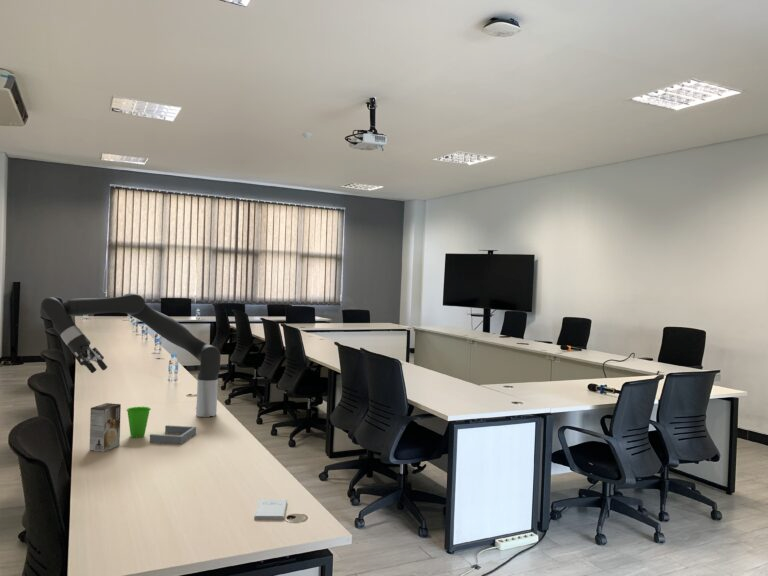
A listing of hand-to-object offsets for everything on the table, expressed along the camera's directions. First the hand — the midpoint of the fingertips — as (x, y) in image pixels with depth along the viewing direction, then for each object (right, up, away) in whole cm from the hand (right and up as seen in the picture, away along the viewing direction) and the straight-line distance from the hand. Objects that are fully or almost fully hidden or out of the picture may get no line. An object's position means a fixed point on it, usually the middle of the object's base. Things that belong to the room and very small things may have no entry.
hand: (100, 370), depth 236 cm
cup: (+15, -27, 0) cm, 31 cm away
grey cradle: (+29, -27, 0) cm, 40 cm away
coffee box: (+10, -27, -18) cm, 34 cm away
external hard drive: (+83, -32, -68) cm, 112 cm away
